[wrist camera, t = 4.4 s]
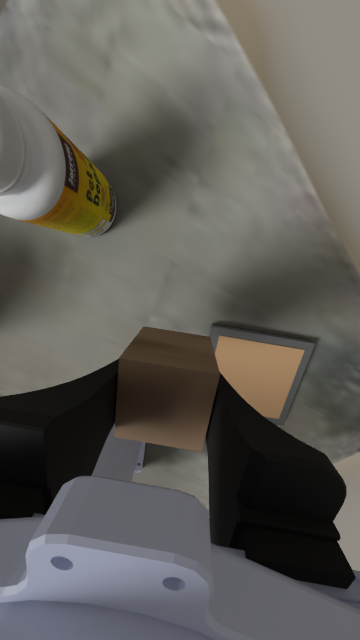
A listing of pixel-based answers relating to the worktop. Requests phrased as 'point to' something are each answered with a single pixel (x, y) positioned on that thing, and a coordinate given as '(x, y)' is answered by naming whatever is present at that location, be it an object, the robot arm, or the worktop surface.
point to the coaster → (262, 367)
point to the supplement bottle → (48, 173)
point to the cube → (166, 389)
